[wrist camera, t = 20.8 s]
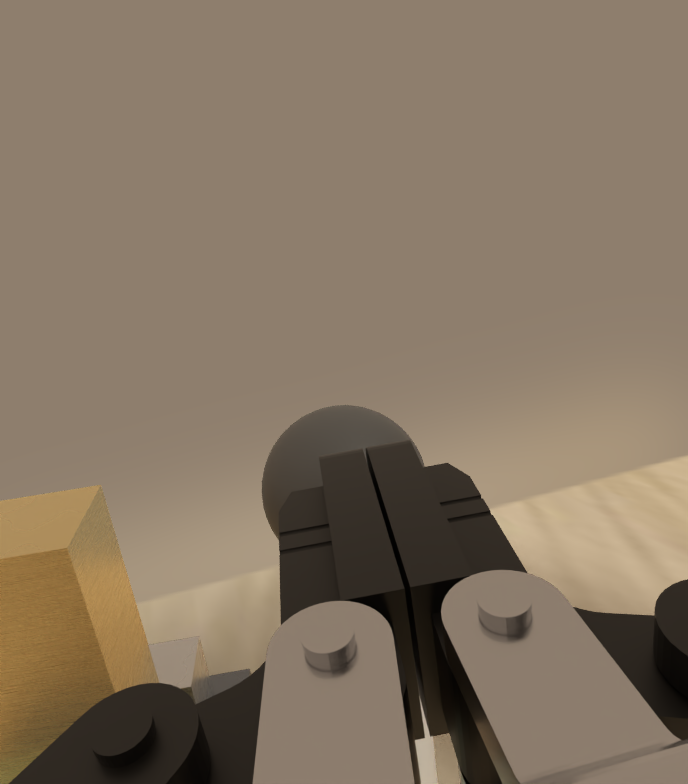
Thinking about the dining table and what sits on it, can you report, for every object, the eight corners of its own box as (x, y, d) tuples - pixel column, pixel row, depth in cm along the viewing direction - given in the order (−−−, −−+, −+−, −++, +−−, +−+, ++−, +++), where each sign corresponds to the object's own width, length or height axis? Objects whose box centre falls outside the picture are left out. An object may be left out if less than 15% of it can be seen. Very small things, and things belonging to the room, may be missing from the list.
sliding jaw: (481, 956, 19) (439, 433, 13) (-91, 1073, 18) (-424, 571, 12) (437, 784, 24) (391, 354, 18) (-9, 869, 23) (-213, 447, 17)
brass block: (163, 840, 24) (67, 547, 19) (28, 866, 24) (-103, 575, 19) (178, 748, 28) (101, 484, 23) (62, 769, 27) (-41, 507, 23)
